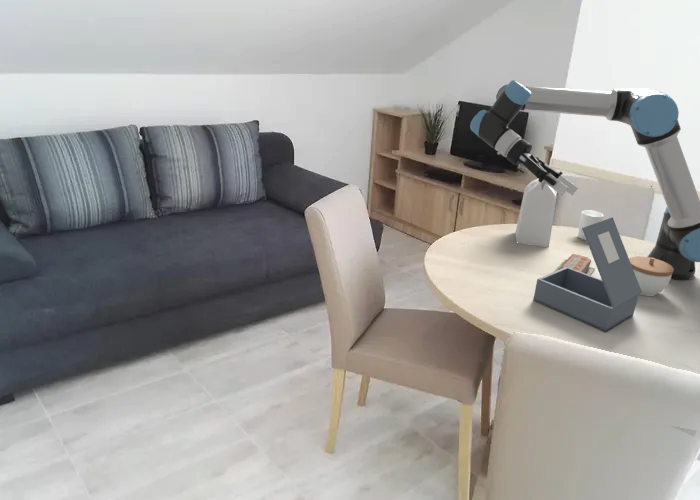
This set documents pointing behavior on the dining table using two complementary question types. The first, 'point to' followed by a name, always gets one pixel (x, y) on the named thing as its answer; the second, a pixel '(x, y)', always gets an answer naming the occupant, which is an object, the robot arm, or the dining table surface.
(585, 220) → the white cup
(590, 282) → the mailer box
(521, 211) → the milk
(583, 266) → the packaged product
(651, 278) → the lidded bowl
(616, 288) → the lid
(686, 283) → the dining table surface
